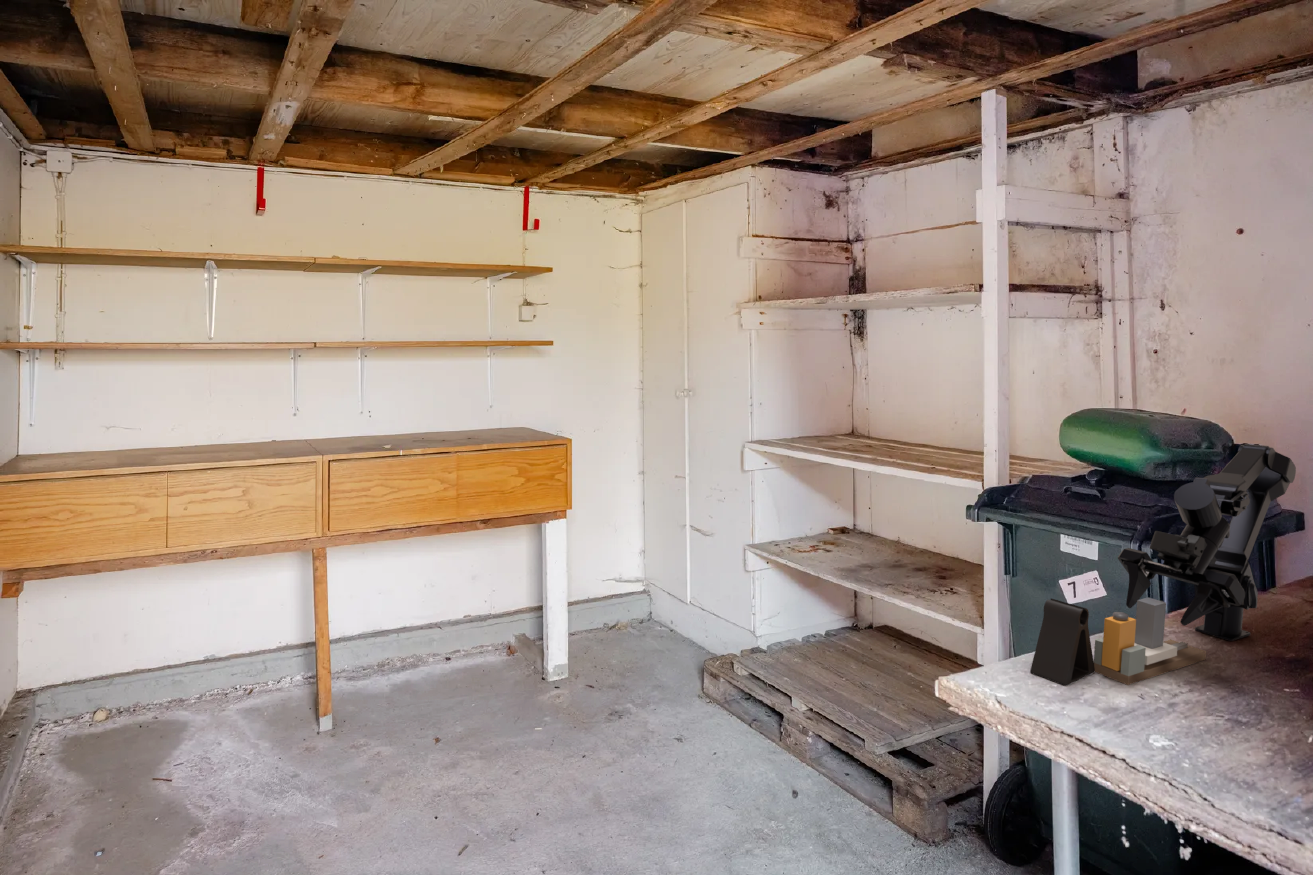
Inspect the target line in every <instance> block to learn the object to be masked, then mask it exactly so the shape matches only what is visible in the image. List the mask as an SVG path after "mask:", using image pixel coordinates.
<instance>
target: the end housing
mask: <svg viewBox="0 0 1313 875" xmlns="http://www.w3.org/2000/svg"><path fill="white" fill-rule="evenodd" d="M1093 651H1094V652H1093V662H1094V663H1096V664H1099V665H1102V651H1103V637H1099V638H1097V639H1095V640H1094V650H1093ZM1145 651H1146V648H1145V647H1142V646H1139V645H1136V646H1133V647H1129V648H1126V649H1123V650H1122V661H1121V674H1124V675H1126V676H1131V675H1134V674H1137V673H1140V672H1143V671H1144V665H1145Z"/></svg>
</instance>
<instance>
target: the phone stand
mask: <svg viewBox="0 0 1313 875" xmlns="http://www.w3.org/2000/svg"><path fill="white" fill-rule="evenodd" d="M1089 617H1090V612H1089V609H1088V608H1086V607H1083V606H1079V605H1076V604H1072V603H1069V602H1065V601H1061V600H1059V599H1054V598H1050V599H1046V601H1045V603H1044V605H1043V616H1042V618H1043V619H1042V623H1041V626H1040V630H1039V633H1038V634H1039V635H1038V638H1037V642H1036V646H1035V650H1034V654H1033V659H1032V662H1031V666H1030V670H1029V672H1030V674H1033V675H1036V676H1038V677H1041V678H1044V679H1046V680H1048V681H1052V682H1054V683H1057V684H1060V685H1062V686H1068V685H1071V684H1072V683H1075V682H1077V681H1079V680H1081V679H1084V678H1087V677H1088V676H1089V675H1092V674H1094V673H1095V672H1094V671H1095V668H1094V654H1093V650H1092V644H1091V638H1090V630H1089V629H1090V628H1089Z"/></svg>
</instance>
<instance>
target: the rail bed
mask: <svg viewBox="0 0 1313 875" xmlns="http://www.w3.org/2000/svg"><path fill="white" fill-rule="evenodd" d="M1163 642H1164V643H1167V644H1170V645H1173V646H1176V647H1177V656H1174V657H1171V658H1168V659H1165V660H1162V661H1158V662H1155V663H1152V664H1149V665H1144V671H1143V672H1140V673H1137V674H1134V675H1131V676H1126V675H1124V674H1121V670H1119V671H1116V670H1113V669H1111V668H1108V667H1106V666H1103V665H1099V664H1096V663H1094V668H1095V671H1094V673H1096V674H1100V675H1101V676H1104V677H1107V678H1108V679H1109V678H1110V679H1112V680H1114V681H1116V682H1120V683H1122V684H1123V685H1124V684H1125V685H1126V686H1129V685H1132V684H1135V683H1138V682H1141V681H1144V680H1148V679H1150V678H1153V677H1156V676H1160V675H1162V674H1166V673H1169V672H1172V671H1175V670H1178V669H1181V668H1184V667H1187V666H1190V665H1193V664H1196V663H1200V662H1203V661H1205V660H1206V658H1207V651H1206V650H1204V649H1201V648H1197V647H1194V646H1191V645H1189V643H1188V642H1185V641H1177V640H1174V639H1167V640H1165V641H1164V640H1163Z"/></svg>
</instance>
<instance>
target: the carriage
mask: <svg viewBox="0 0 1313 875" xmlns="http://www.w3.org/2000/svg"><path fill="white" fill-rule="evenodd" d="M1166 612H1167V602H1165V601H1163V600H1158V599H1155V598H1152V597H1145V598H1140V599H1139V600H1137V603H1136V612H1135V619H1136V629H1135V643H1134V646H1136V645H1139V646H1142V647H1145V648H1146V651H1145V665H1149V664H1152V663H1155V662H1158V661H1162V660H1165V659H1168V658H1171V657H1174V656H1177V647H1176V646H1173V645H1170V644H1167V643H1164V635H1165V623H1166V622H1165V621H1166Z"/></svg>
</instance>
